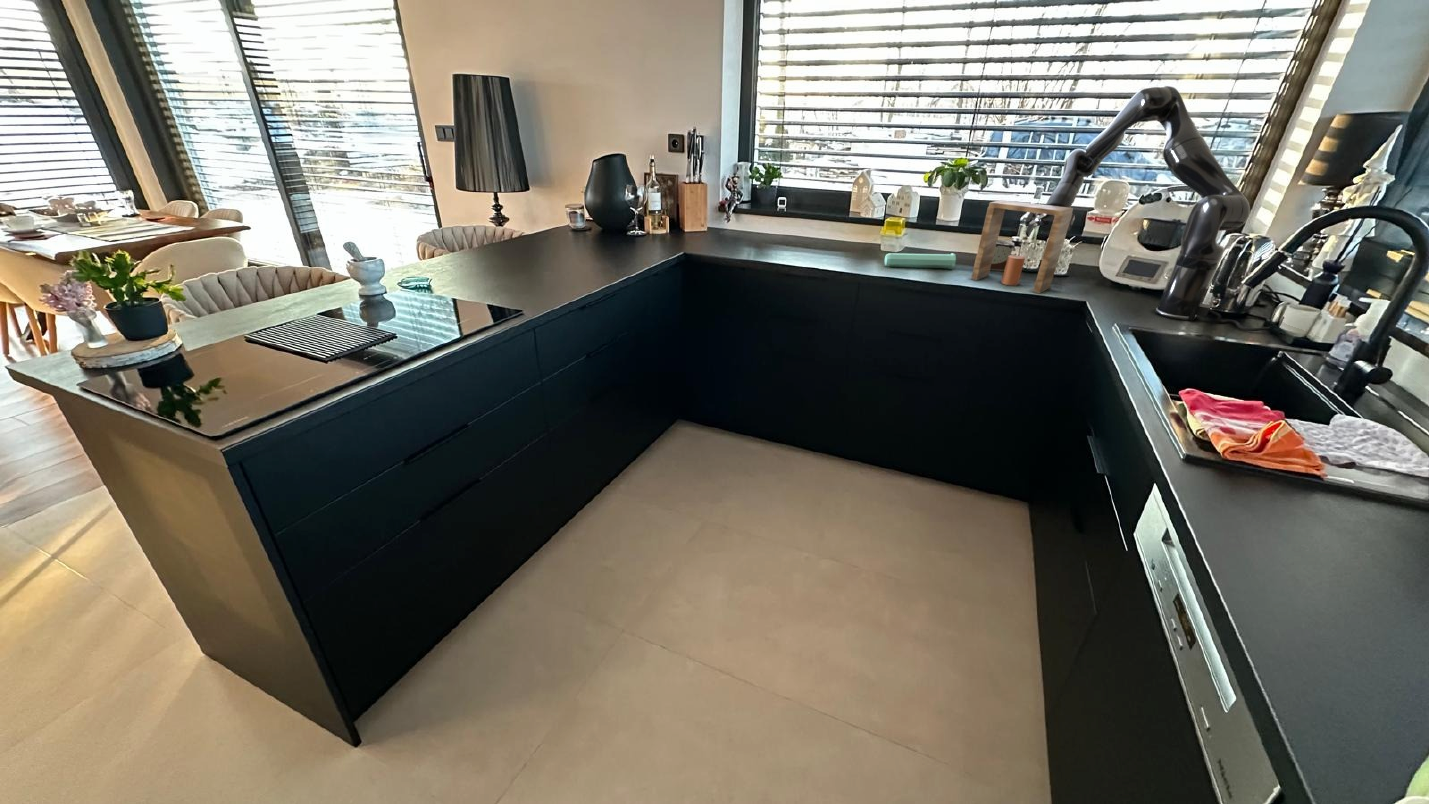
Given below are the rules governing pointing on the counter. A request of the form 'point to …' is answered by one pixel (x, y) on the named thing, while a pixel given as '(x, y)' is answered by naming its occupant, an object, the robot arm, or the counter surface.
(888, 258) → the container
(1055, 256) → the shelf
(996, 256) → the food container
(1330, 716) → the counter surface
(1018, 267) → the tea tin
